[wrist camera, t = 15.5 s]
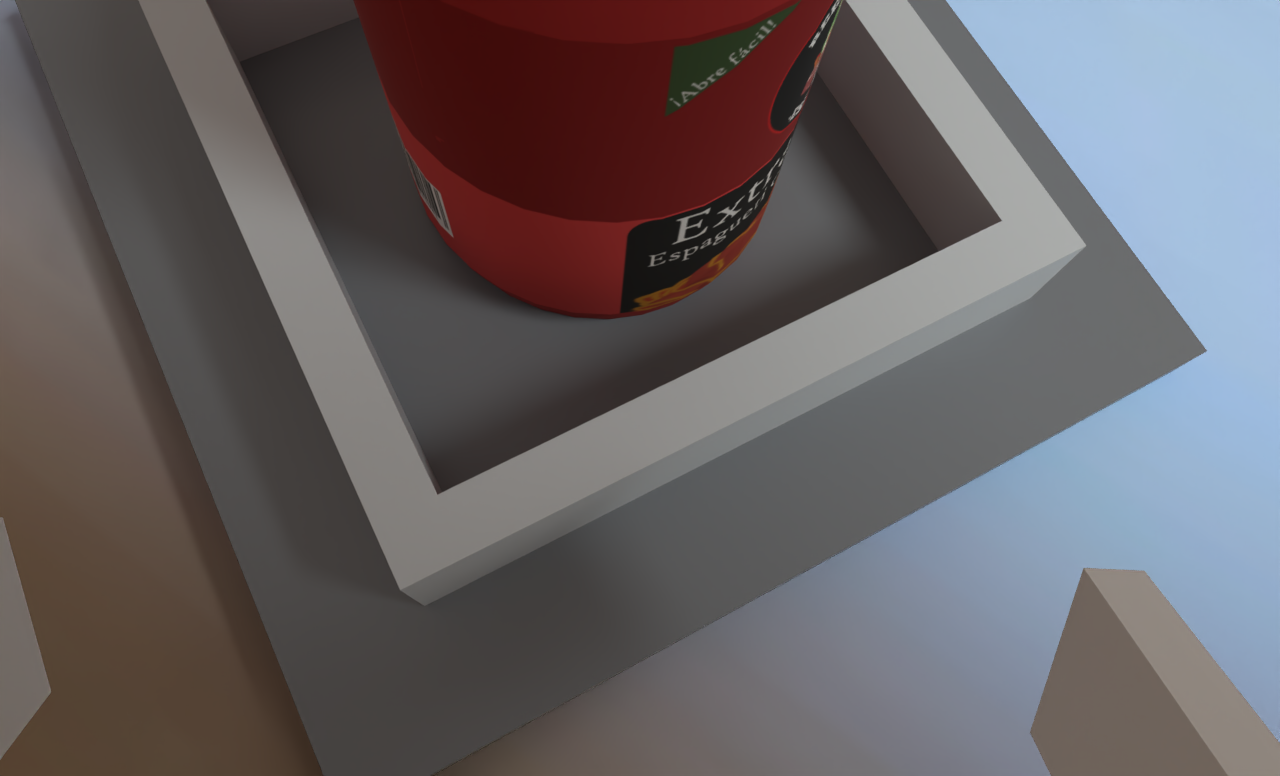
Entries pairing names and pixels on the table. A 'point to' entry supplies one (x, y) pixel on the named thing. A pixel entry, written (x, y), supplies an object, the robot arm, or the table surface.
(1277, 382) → the table surface
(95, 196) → the end holder
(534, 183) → the canned food
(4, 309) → the table surface
